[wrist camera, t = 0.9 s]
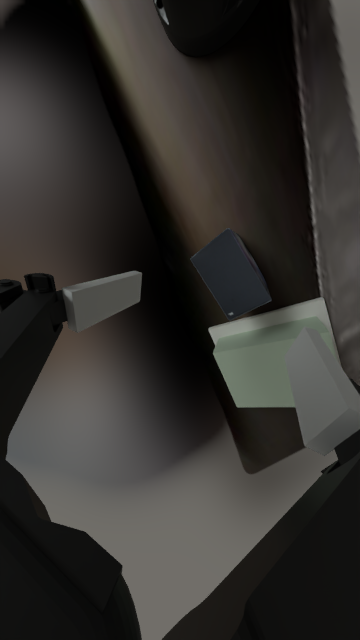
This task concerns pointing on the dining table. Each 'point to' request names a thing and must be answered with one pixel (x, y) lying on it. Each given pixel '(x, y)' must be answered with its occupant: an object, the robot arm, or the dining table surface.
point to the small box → (231, 275)
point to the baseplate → (277, 320)
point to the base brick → (263, 362)
